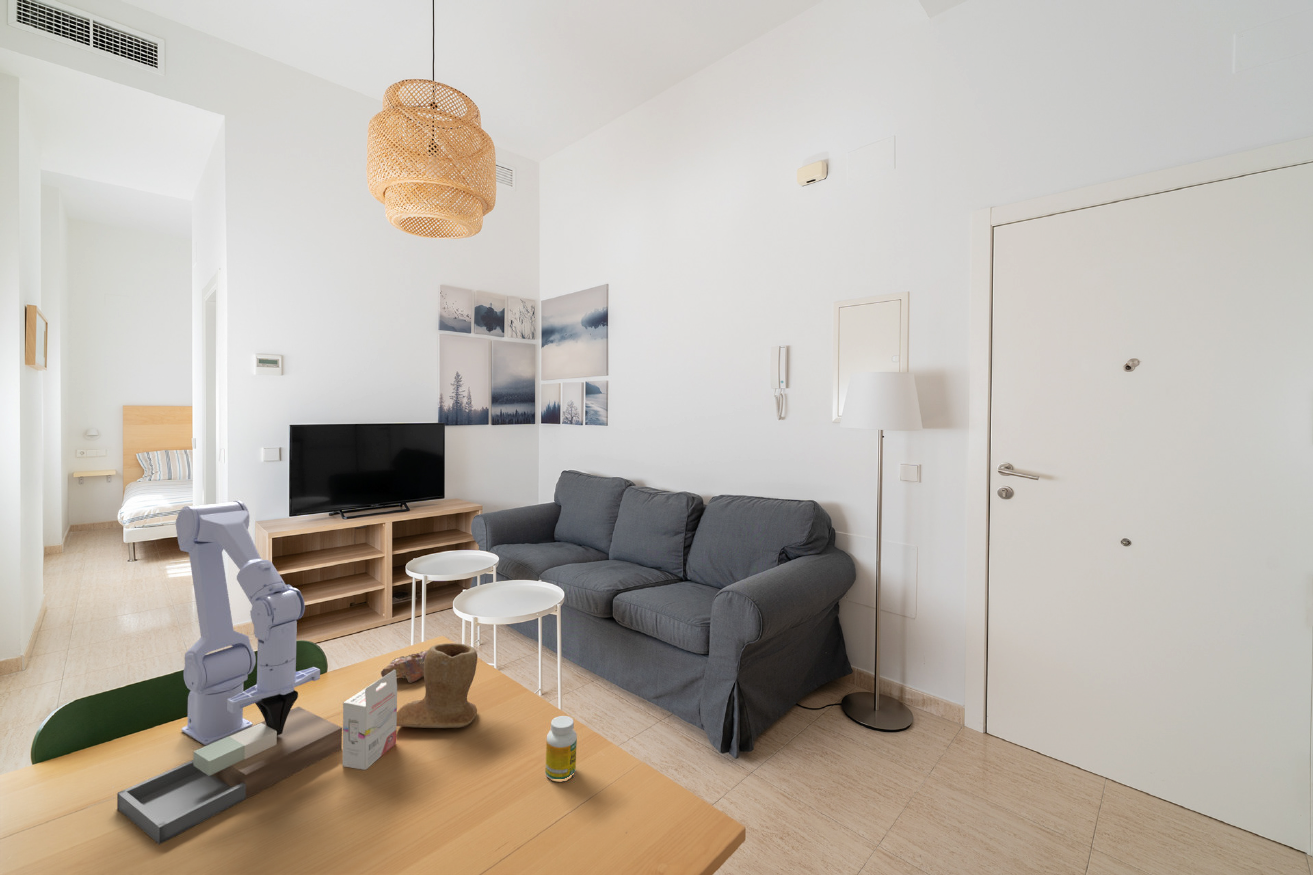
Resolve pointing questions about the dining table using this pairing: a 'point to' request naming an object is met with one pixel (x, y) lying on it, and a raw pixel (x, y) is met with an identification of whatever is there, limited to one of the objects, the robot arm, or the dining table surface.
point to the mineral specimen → (407, 667)
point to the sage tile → (218, 755)
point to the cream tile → (256, 739)
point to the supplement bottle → (561, 748)
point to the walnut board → (286, 752)
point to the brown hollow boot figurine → (443, 689)
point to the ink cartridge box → (370, 723)
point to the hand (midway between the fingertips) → (275, 733)
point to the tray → (177, 801)
